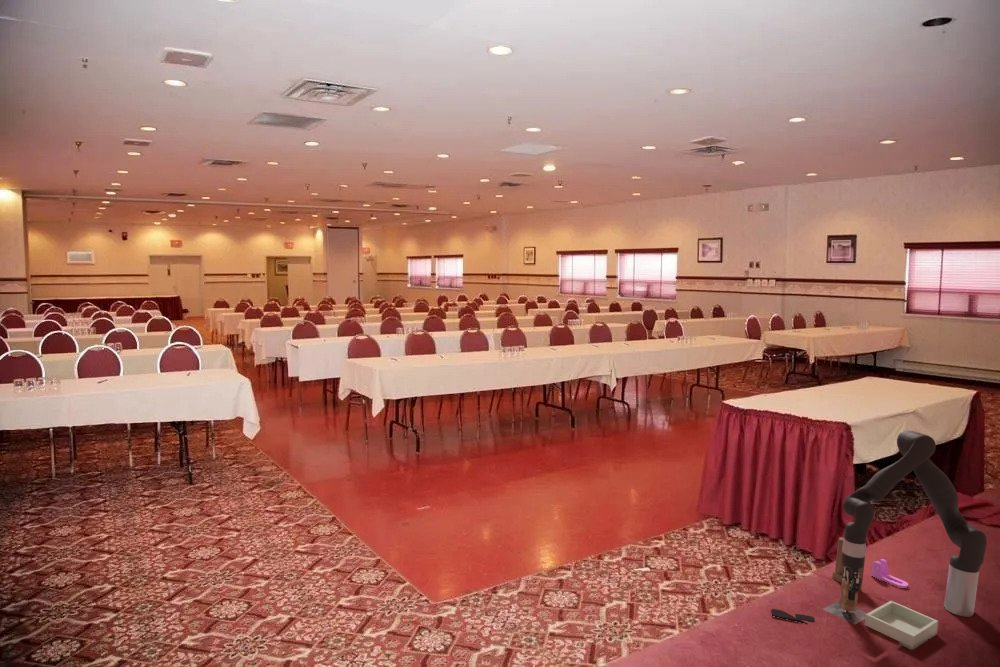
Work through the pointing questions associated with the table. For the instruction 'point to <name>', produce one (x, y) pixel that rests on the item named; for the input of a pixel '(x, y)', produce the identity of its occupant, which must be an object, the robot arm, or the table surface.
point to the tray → (902, 624)
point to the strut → (844, 600)
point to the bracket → (886, 574)
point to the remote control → (786, 616)
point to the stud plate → (846, 613)
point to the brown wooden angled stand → (838, 569)
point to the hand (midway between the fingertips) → (848, 596)
